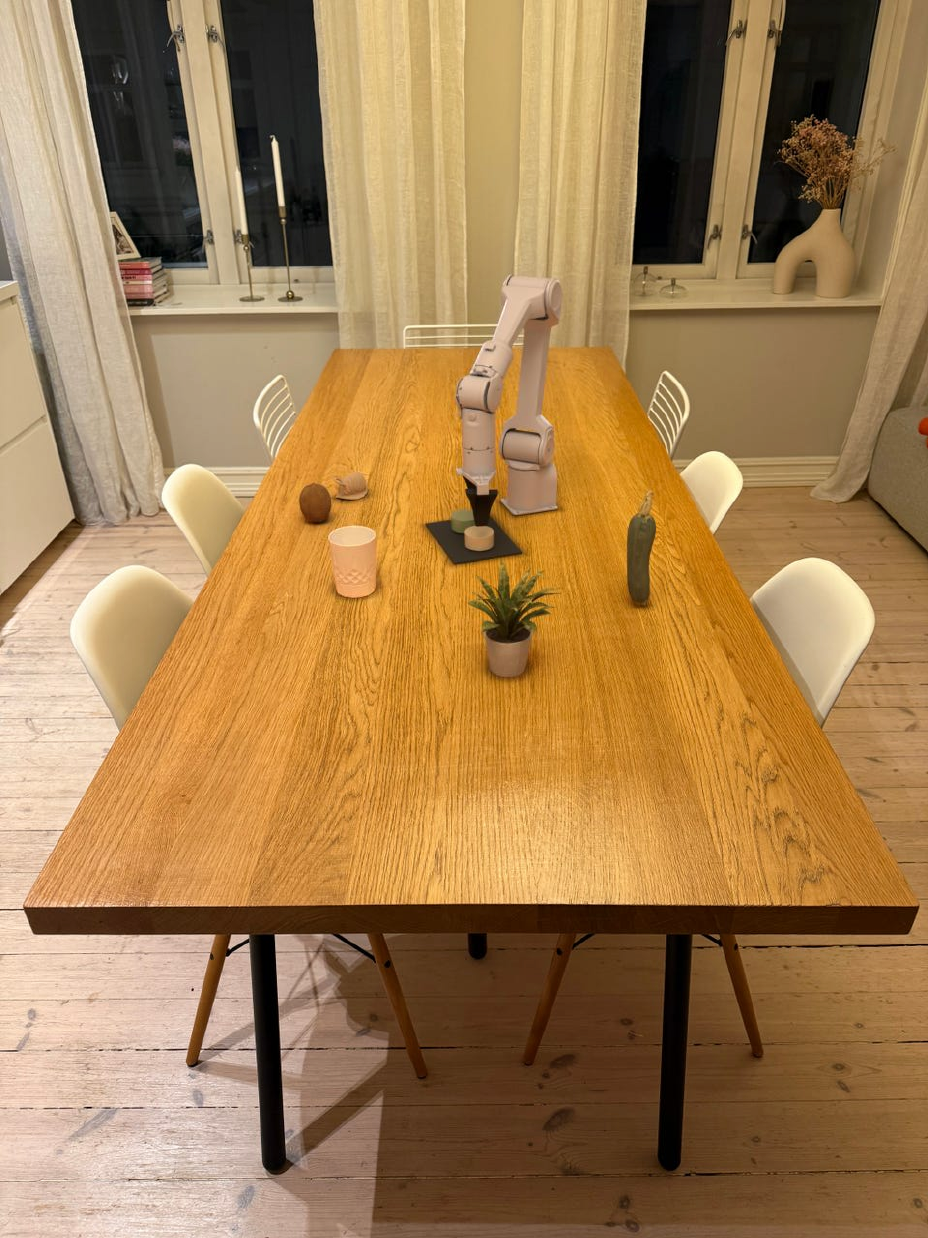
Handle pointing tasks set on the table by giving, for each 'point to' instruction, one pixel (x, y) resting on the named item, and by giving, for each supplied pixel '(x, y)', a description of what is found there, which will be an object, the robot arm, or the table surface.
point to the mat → (460, 554)
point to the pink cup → (353, 560)
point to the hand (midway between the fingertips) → (479, 516)
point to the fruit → (315, 502)
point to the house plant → (510, 622)
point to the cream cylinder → (479, 538)
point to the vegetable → (640, 551)
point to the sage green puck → (462, 520)
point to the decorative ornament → (351, 486)
